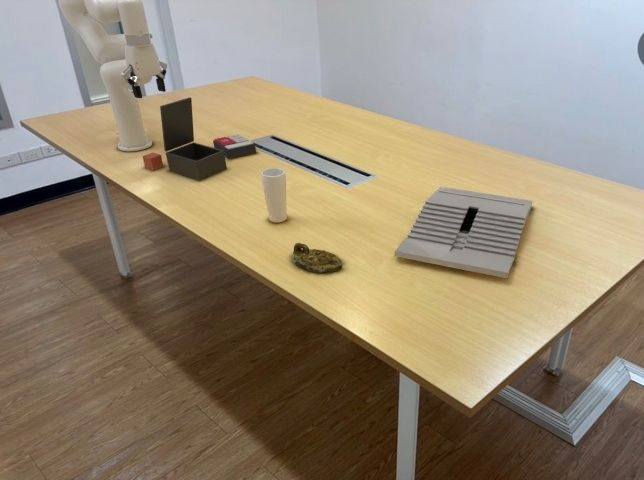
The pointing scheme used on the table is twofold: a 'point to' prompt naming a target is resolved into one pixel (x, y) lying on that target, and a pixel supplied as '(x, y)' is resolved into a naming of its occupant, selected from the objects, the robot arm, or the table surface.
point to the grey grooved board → (467, 231)
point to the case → (196, 161)
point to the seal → (315, 259)
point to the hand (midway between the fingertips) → (150, 94)
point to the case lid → (177, 123)
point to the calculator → (235, 146)
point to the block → (153, 161)
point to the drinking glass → (275, 193)
